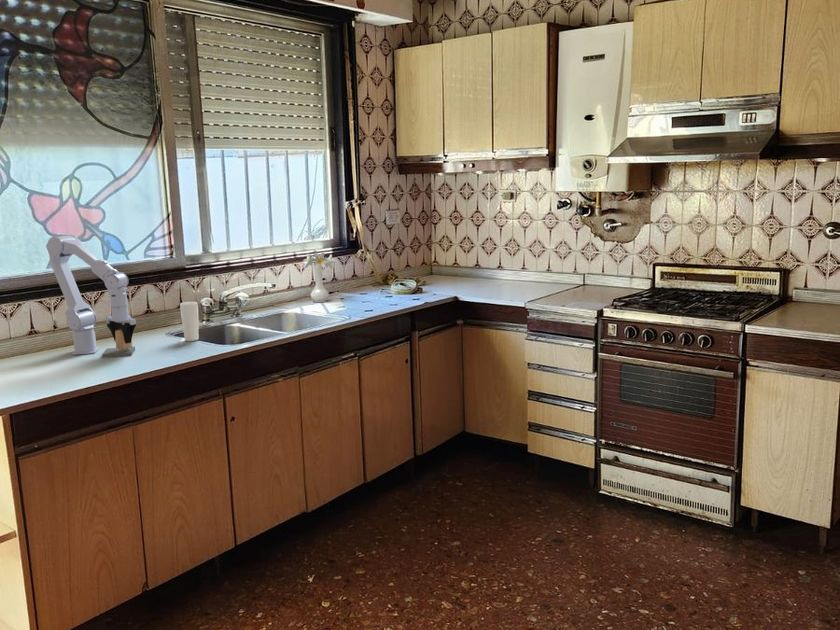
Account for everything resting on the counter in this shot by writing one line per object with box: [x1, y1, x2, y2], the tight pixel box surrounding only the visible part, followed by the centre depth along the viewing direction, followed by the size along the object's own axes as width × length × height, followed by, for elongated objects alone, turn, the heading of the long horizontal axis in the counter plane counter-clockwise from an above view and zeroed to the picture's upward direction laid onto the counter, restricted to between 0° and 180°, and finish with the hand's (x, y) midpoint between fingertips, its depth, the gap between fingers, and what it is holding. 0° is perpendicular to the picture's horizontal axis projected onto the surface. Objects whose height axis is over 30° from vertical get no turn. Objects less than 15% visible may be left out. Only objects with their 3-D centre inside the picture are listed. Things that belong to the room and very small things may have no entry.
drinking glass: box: [179, 301, 200, 342], centre depth 294 cm, size 7×7×15 cm
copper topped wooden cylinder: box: [114, 329, 133, 349], centre depth 274 cm, size 6×6×7 cm
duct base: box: [101, 346, 136, 358], centre depth 275 cm, size 10×10×5 cm
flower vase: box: [302, 252, 337, 303], centre depth 376 cm, size 13×18×25 cm
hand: (123, 342), depth 274 cm, fingers closed on copper topped wooden cylinder, 5 cm apart
